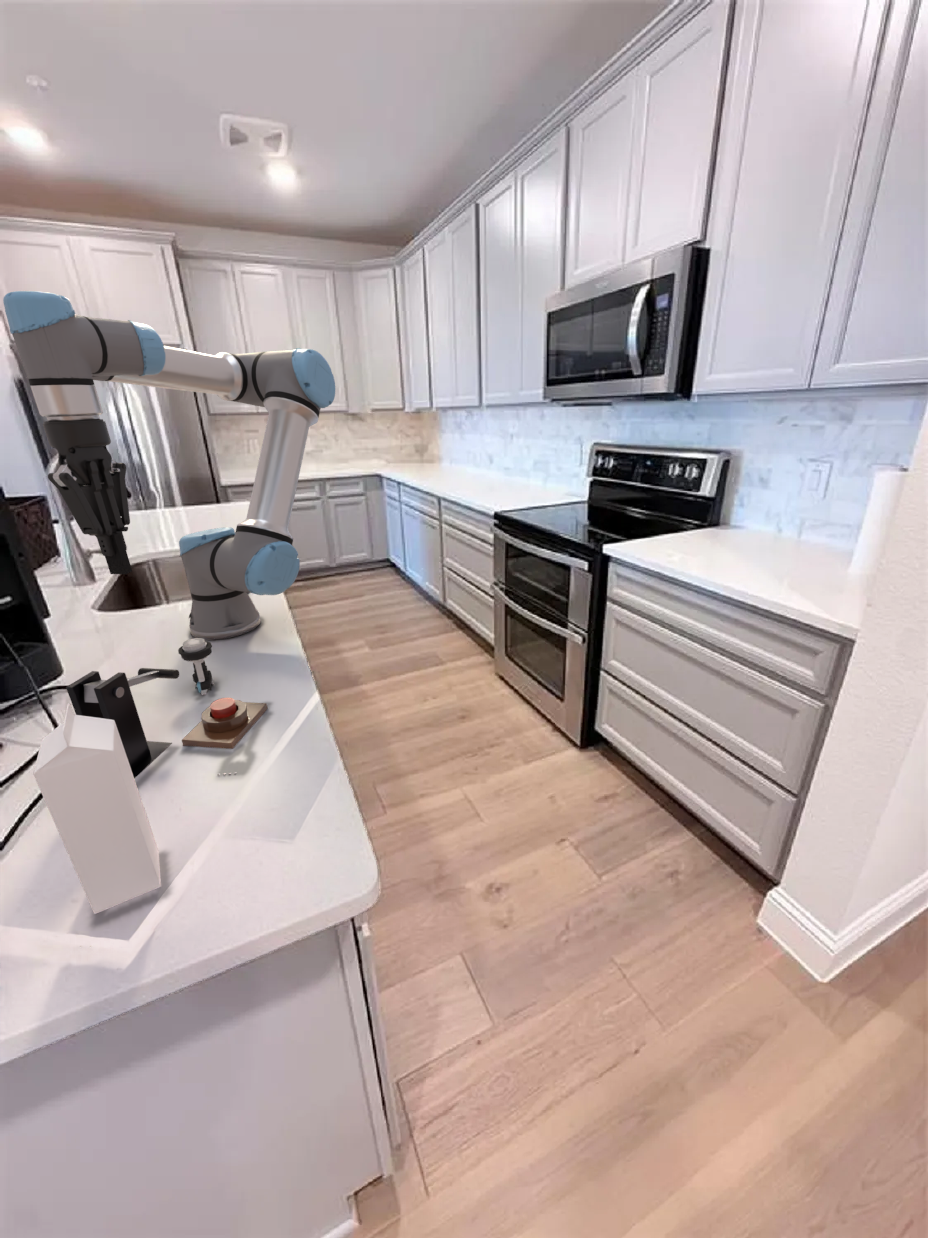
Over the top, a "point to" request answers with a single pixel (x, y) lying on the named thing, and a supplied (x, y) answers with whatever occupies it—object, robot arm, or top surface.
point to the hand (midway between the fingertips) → (121, 572)
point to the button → (223, 708)
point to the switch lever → (131, 680)
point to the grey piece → (198, 662)
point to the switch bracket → (118, 716)
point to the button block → (225, 726)
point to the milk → (98, 810)
